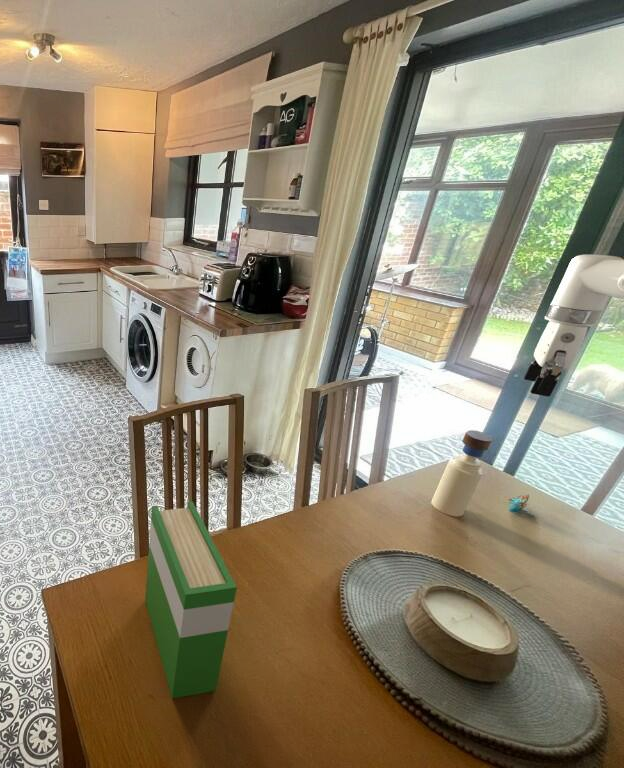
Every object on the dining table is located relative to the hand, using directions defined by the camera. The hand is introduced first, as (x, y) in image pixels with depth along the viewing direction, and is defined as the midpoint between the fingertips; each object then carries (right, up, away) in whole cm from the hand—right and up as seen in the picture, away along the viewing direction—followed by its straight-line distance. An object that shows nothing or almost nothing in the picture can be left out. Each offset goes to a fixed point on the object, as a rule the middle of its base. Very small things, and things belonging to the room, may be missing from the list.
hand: (535, 387), depth 95 cm
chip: (-10, -14, +4) cm, 18 cm away
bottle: (-10, -32, +12) cm, 36 cm away
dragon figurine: (+8, -32, +13) cm, 36 cm away
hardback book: (-87, -46, -21) cm, 100 cm away
